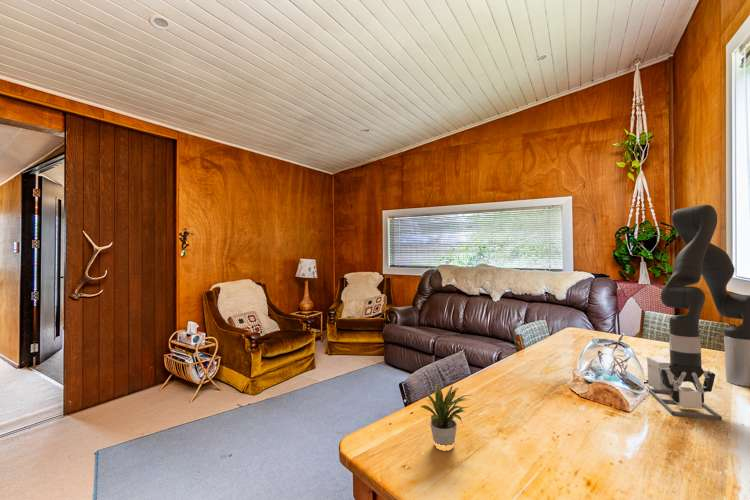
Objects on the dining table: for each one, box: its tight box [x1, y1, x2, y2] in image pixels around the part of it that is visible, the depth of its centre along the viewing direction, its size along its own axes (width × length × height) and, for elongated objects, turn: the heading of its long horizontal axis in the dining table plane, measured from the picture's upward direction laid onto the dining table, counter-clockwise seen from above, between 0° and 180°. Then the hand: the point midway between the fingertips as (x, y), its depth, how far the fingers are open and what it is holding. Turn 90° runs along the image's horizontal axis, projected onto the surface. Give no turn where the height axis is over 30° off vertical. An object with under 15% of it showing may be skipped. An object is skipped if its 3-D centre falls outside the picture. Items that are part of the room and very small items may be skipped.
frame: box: [645, 379, 723, 421], centre depth 120 cm, size 30×12×1 cm, turn 159°
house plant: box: [419, 383, 471, 446], centre depth 93 cm, size 14×14×16 cm
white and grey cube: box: [674, 385, 703, 410], centre depth 111 cm, size 5×5×5 cm
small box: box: [646, 356, 674, 390], centre depth 129 cm, size 8×6×10 cm
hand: (687, 402), depth 111 cm, fingers closed on white and grey cube, 5 cm apart
